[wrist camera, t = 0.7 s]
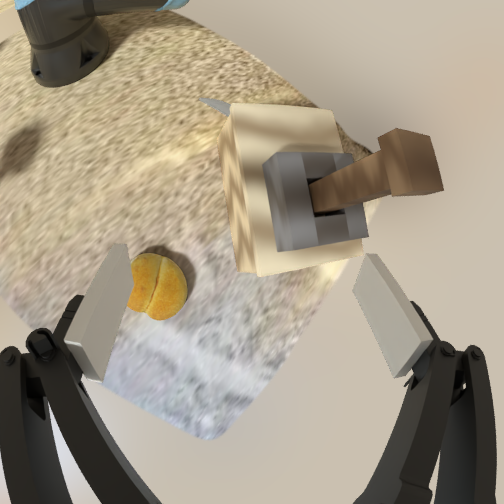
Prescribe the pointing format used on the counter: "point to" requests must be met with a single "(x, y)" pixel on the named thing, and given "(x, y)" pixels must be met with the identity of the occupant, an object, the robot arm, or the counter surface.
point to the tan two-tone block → (284, 188)
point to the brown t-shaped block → (381, 174)
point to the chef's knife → (217, 105)
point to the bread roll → (157, 286)
